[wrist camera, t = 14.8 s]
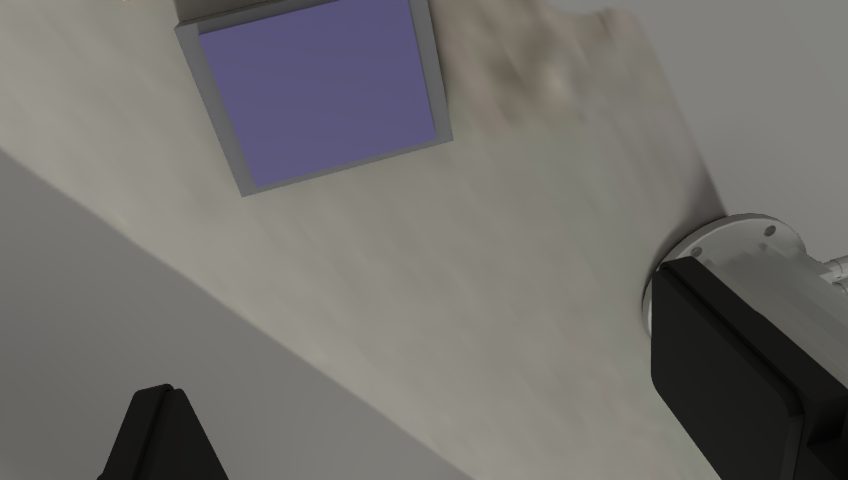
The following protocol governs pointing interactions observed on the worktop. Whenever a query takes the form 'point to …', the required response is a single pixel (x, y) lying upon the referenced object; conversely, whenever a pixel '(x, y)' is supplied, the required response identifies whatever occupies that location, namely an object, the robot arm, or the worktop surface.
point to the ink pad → (317, 85)
